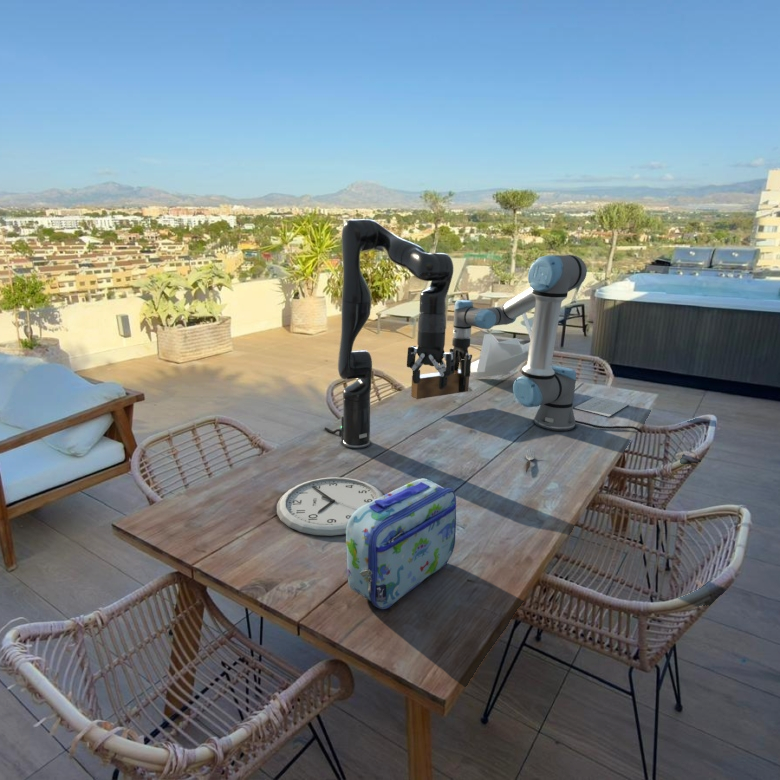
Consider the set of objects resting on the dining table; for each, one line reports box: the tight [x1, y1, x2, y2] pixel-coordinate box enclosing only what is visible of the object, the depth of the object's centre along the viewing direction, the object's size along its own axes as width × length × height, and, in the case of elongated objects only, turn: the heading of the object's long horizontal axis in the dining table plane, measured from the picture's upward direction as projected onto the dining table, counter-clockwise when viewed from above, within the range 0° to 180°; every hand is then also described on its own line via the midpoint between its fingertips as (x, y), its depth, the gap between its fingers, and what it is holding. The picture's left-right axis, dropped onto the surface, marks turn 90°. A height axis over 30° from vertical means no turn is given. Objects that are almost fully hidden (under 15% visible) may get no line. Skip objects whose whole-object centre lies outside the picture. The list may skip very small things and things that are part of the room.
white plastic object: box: [470, 312, 532, 379], centre depth 257 cm, size 37×45×31 cm
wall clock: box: [276, 476, 385, 537], centre depth 142 cm, size 30×2×30 cm
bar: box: [410, 369, 470, 400], centre depth 223 cm, size 26×5×9 cm, turn 118°
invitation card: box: [573, 396, 629, 418], centre depth 226 cm, size 21×1×15 cm
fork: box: [525, 448, 536, 473], centre depth 169 cm, size 3×16×2 cm, turn 160°
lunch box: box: [345, 477, 457, 610], centre depth 110 cm, size 26×11×21 cm, turn 134°
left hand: (429, 385), depth 147 cm, fingers open, 8 cm apart
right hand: (458, 389), depth 228 cm, fingers closed on bar, 5 cm apart
